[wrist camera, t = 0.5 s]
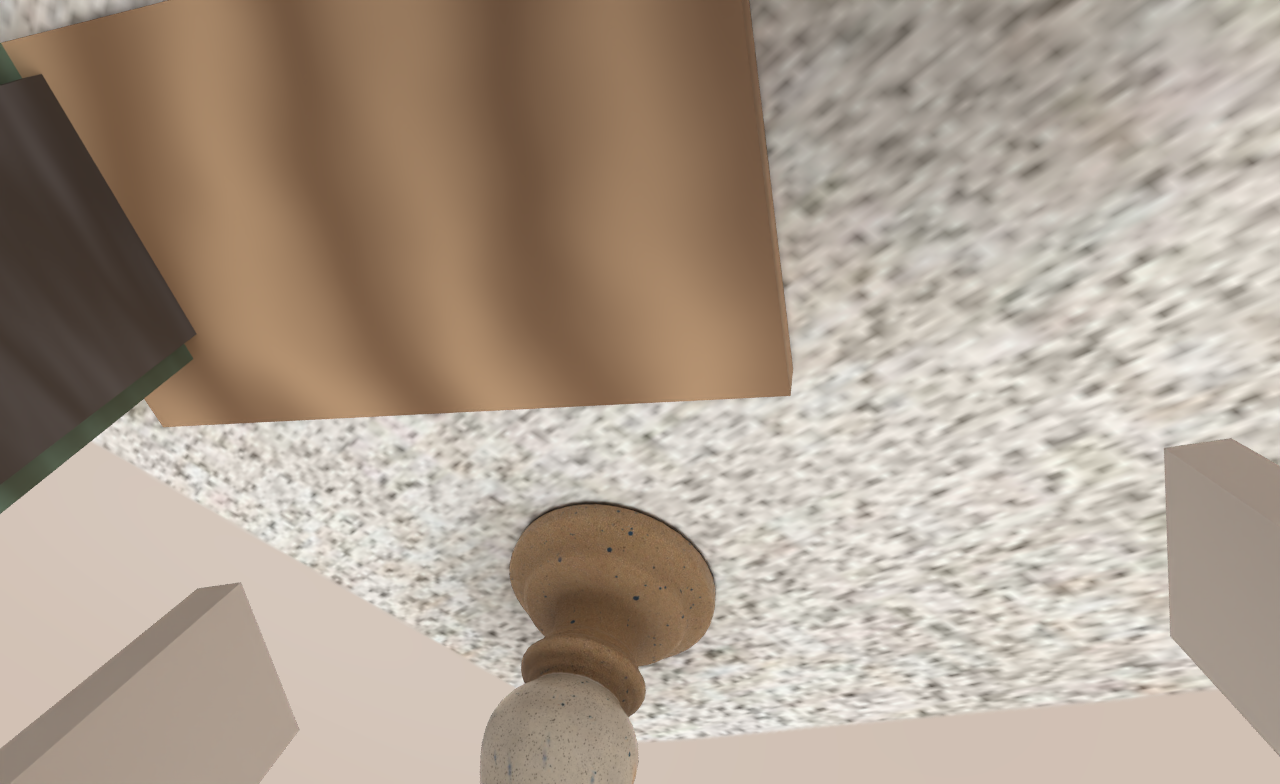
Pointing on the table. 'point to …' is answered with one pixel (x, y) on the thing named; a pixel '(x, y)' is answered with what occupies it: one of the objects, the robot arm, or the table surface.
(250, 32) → the wooden bookend
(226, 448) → the table surface
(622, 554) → the candle holder
